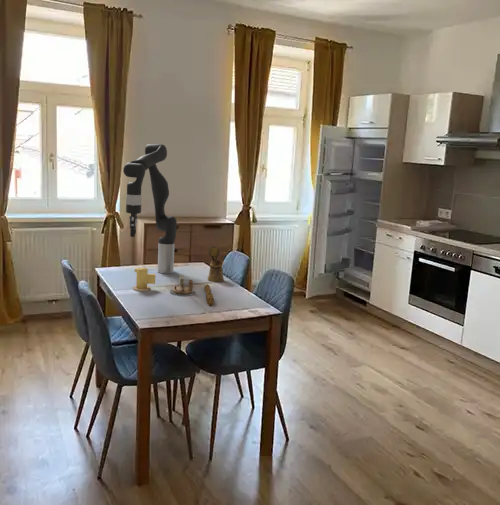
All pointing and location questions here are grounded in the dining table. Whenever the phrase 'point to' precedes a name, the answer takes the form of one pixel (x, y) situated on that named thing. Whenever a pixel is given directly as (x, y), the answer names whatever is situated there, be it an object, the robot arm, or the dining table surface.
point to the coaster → (141, 289)
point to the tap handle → (209, 295)
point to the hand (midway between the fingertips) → (133, 235)
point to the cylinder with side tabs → (144, 278)
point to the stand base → (182, 294)
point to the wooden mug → (215, 266)
